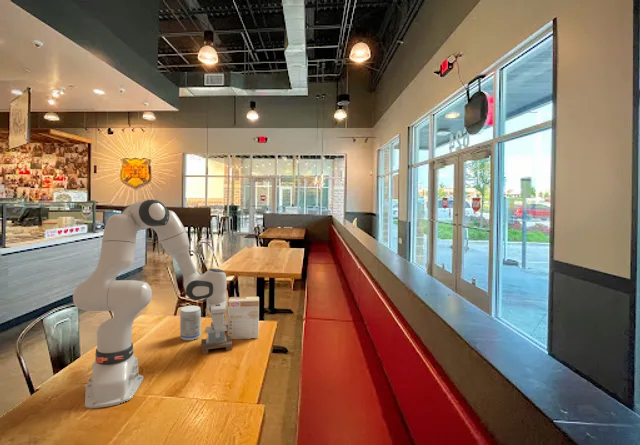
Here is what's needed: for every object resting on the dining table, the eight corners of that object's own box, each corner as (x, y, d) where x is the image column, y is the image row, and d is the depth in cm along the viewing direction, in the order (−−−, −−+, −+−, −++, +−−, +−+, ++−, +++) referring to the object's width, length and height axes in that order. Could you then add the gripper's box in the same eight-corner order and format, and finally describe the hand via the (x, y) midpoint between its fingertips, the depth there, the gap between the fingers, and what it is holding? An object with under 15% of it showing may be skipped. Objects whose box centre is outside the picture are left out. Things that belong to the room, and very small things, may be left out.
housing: (206, 344, 160) (206, 331, 159) (205, 340, 164) (205, 327, 164) (226, 342, 163) (226, 328, 162) (225, 338, 167) (225, 324, 167)
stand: (232, 349, 162) (232, 343, 162) (202, 353, 157) (202, 347, 157) (229, 342, 170) (229, 336, 170) (201, 345, 166) (201, 339, 165)
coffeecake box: (258, 333, 182) (259, 296, 181) (258, 338, 175) (258, 300, 174) (229, 333, 180) (229, 296, 178) (227, 339, 173) (227, 300, 171)
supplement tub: (182, 333, 179) (182, 305, 178) (202, 333, 180) (202, 304, 179) (178, 341, 169) (178, 311, 168) (198, 340, 171) (198, 311, 170)
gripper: (208, 297, 171) (207, 325, 172) (211, 311, 152) (210, 342, 153) (221, 296, 173) (221, 324, 174) (226, 310, 154) (225, 340, 155)
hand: (216, 332), depth 163 cm, fingers open, 8 cm apart
